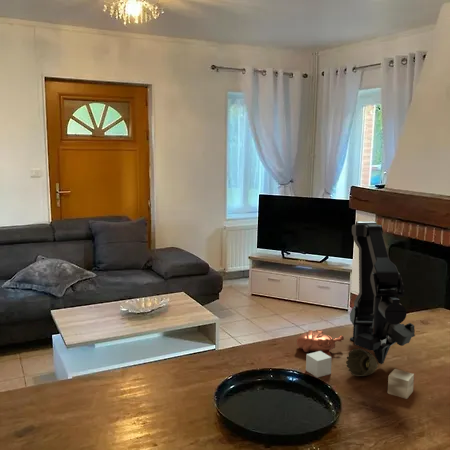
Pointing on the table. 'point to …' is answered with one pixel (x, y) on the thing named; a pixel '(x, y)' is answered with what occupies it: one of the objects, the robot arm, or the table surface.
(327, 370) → the grey block
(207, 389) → the table surface
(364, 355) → the cup
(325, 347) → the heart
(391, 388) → the birch block
